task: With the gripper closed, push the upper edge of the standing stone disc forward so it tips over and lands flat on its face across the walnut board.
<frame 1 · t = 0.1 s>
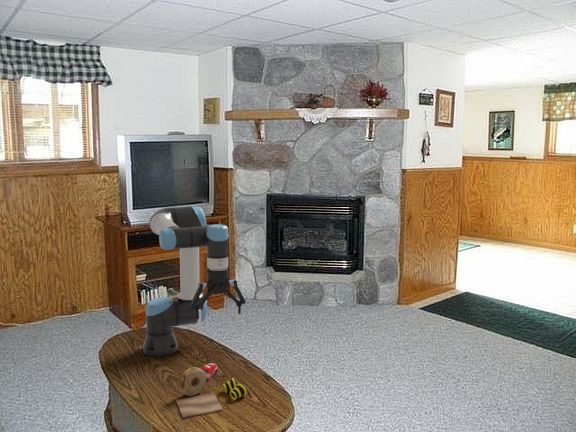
hand: (218, 324, 178), 28 cm above the table, tool pointing down, fingers open, 13 cm apart
stone disc: (193, 394, 184), on the table
race car: (206, 377, 198), on the table
walnut board: (199, 405, 176), on the table
opera glasses: (233, 395, 184), on the table
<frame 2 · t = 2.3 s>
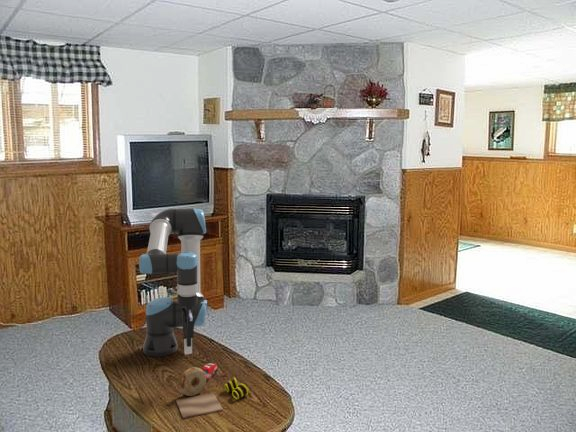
hand: (188, 353, 189), 13 cm above the table, tool pointing down, fingers closed
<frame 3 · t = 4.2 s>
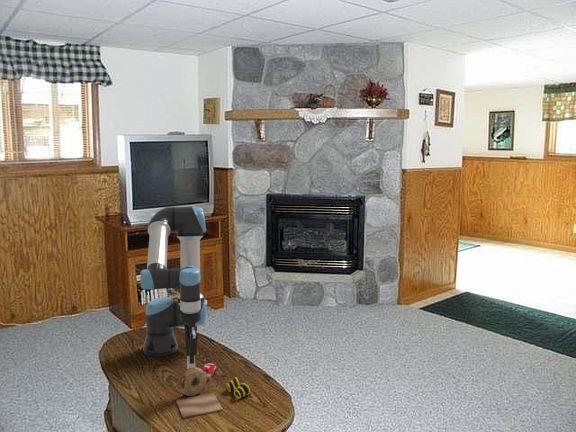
hand: (191, 370, 185), 8 cm above the table, tool pointing down, fingers closed
stone disc: (193, 394, 184), on the table, touching gripper
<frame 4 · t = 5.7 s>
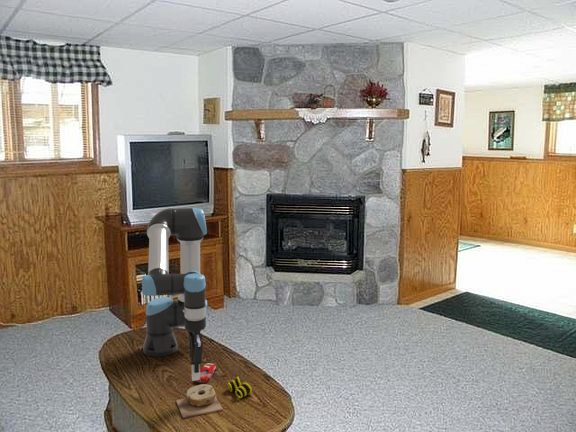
hand: (195, 379, 178), 8 cm above the table, tool pointing down, fingers closed
stone disc: (194, 389, 182), point 3 cm above the table, touching walnut board
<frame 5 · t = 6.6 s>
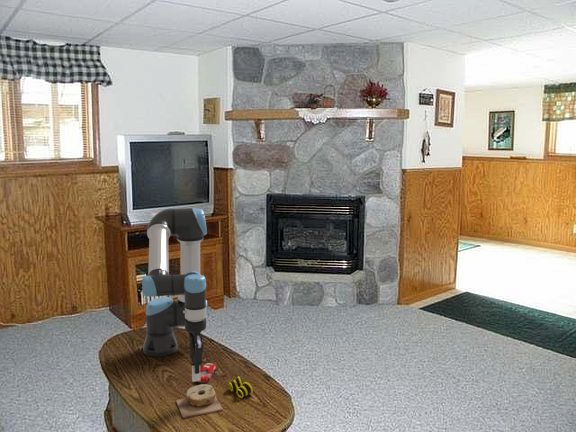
hand: (196, 380, 178), 8 cm above the table, tool pointing down, fingers closed
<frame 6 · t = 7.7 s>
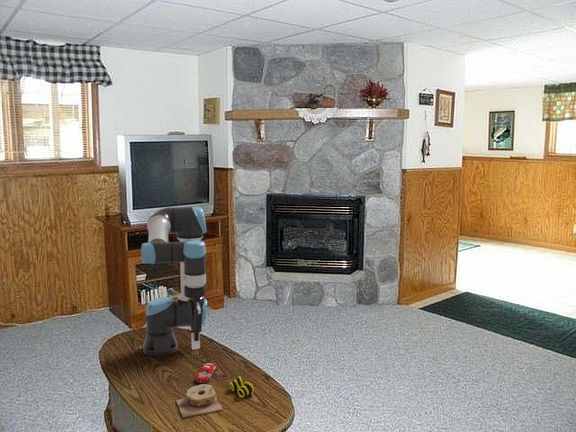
hand: (195, 348, 176), 20 cm above the table, tool pointing down, fingers closed
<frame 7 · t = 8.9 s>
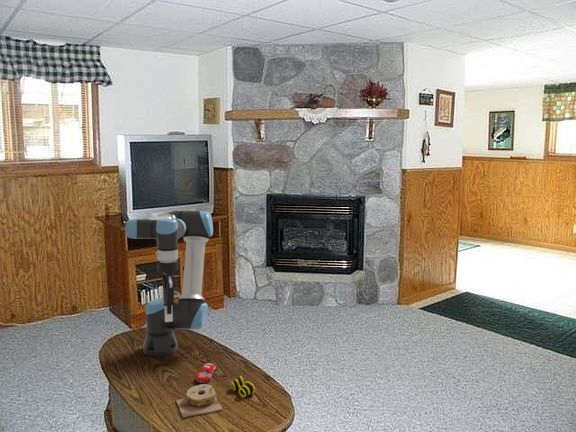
hand: (168, 321, 185), 26 cm above the table, tool pointing down, fingers closed
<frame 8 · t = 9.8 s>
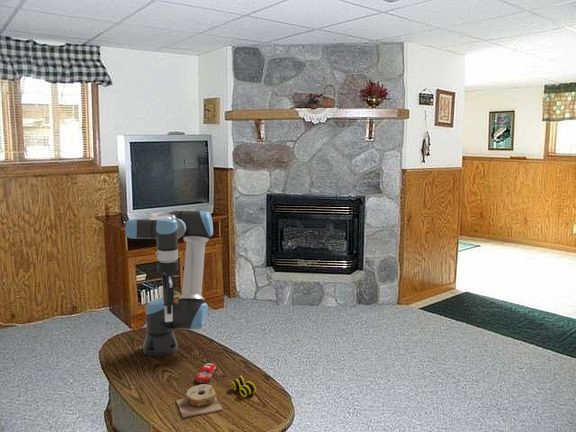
hand: (168, 321, 185), 26 cm above the table, tool pointing down, fingers closed
at the end: stone disc tilted 93°; stone disc inside the target area (4.6 cm from its centre), point 2.6 cm above the table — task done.
